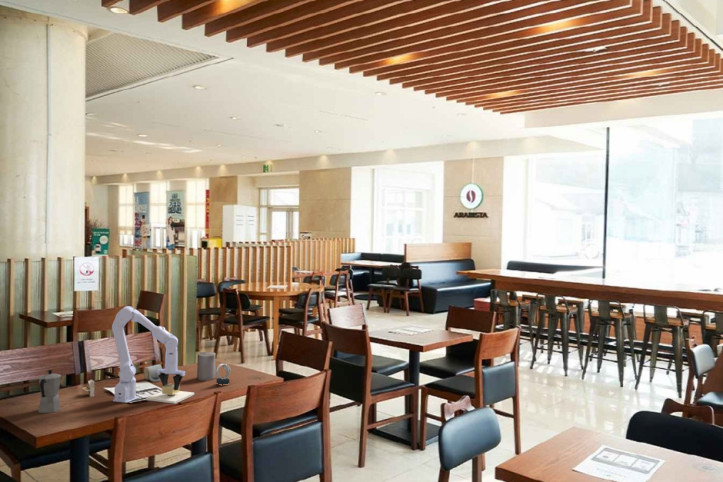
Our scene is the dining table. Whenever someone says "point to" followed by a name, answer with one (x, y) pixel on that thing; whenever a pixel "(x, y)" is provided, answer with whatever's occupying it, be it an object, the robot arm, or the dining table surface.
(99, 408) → the dining table surface
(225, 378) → the watch
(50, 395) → the coffeepot
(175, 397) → the post stand
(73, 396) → the dining table surface
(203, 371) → the pillar candle
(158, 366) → the ceramic mug
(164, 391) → the wooden square ring
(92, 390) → the architectural model
